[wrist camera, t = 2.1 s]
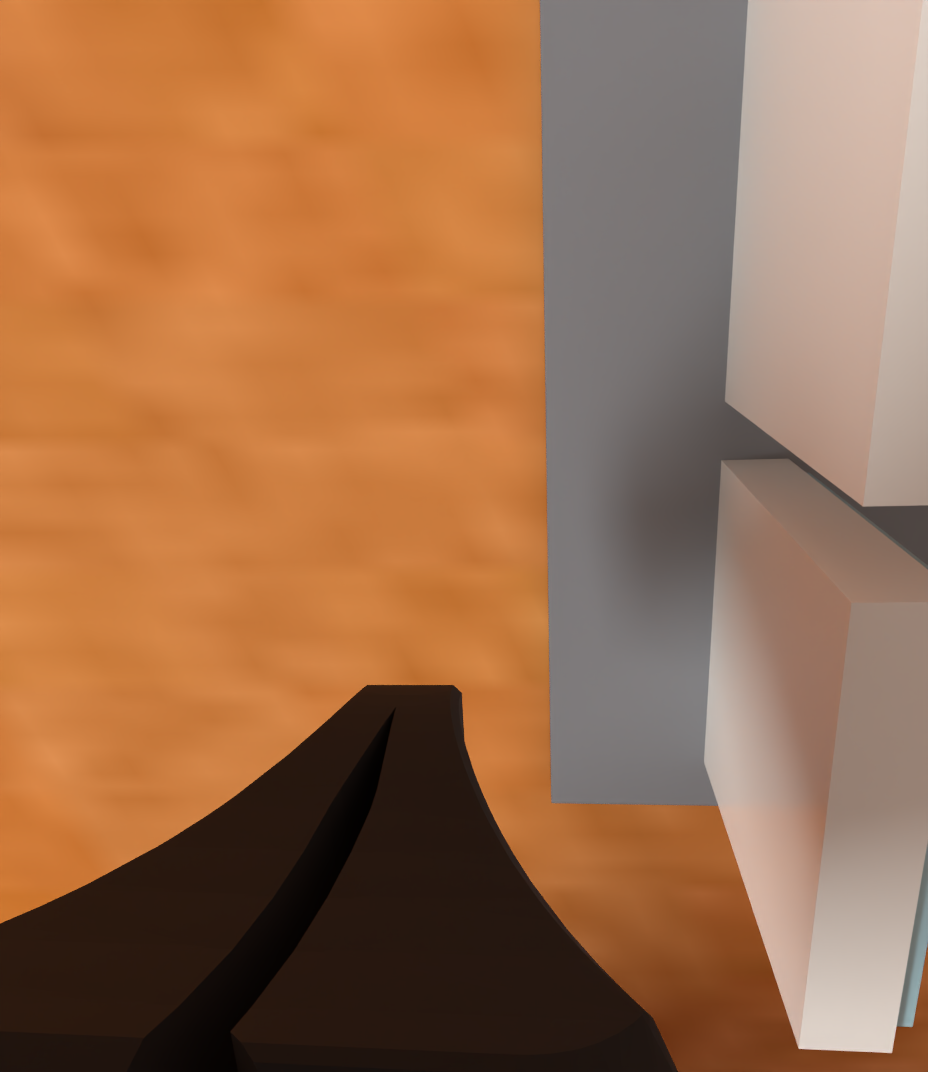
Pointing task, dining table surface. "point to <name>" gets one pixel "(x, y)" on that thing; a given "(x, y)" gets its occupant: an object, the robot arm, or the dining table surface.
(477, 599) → the dining table surface
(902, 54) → the tile
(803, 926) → the tile
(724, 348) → the mat
